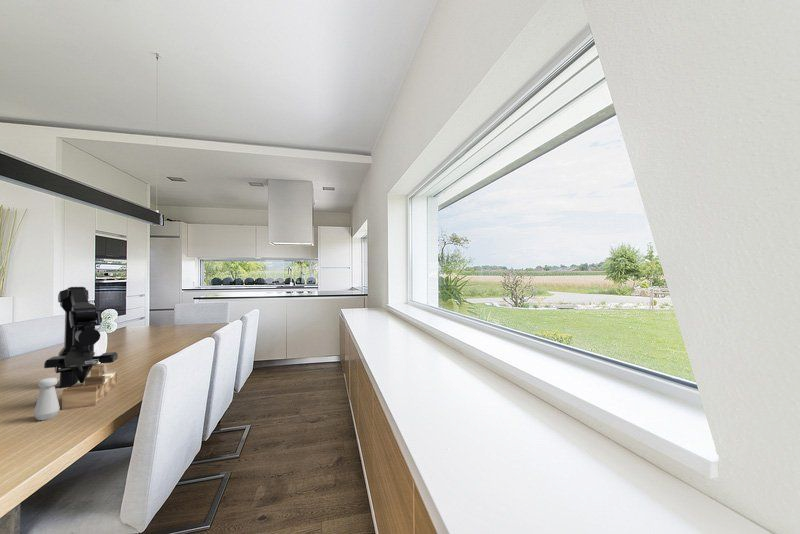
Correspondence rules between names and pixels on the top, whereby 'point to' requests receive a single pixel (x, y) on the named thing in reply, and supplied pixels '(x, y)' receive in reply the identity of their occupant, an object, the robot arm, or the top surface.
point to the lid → (99, 373)
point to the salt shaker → (47, 400)
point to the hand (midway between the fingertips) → (82, 382)
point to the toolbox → (86, 394)
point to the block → (94, 380)
